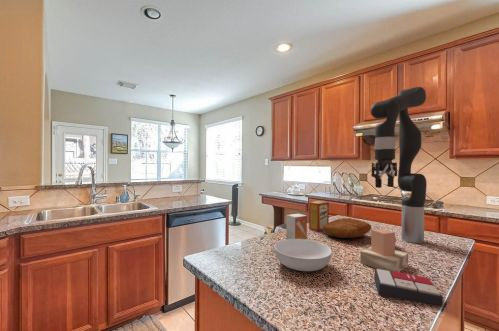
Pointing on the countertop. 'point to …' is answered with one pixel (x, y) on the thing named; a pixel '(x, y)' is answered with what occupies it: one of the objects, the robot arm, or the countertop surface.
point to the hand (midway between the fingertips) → (384, 187)
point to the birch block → (384, 260)
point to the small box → (296, 226)
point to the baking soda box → (318, 215)
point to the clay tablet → (346, 228)
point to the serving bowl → (302, 254)
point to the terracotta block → (383, 242)
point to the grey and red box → (407, 287)
